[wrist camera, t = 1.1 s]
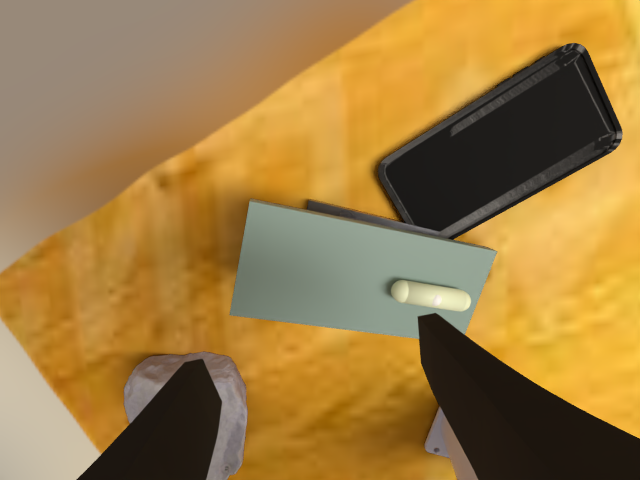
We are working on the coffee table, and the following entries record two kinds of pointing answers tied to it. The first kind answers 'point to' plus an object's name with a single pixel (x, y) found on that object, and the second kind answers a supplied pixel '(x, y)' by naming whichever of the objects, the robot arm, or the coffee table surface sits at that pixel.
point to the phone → (504, 145)
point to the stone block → (230, 390)
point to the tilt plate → (353, 273)
